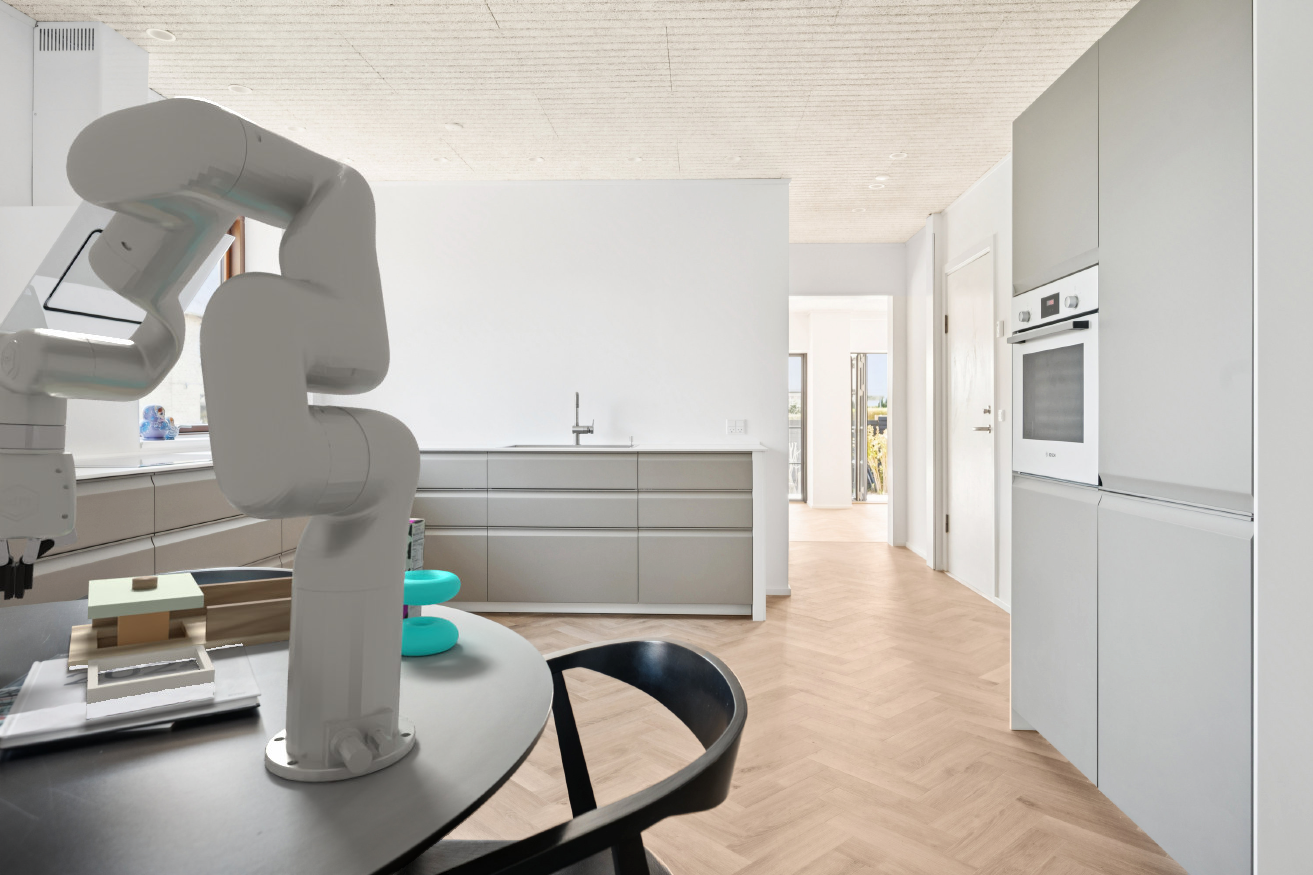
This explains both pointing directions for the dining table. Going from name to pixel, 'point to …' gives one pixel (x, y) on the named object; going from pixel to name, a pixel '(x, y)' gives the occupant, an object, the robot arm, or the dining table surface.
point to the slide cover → (143, 595)
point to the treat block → (142, 628)
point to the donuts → (426, 630)
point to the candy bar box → (414, 558)
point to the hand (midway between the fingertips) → (14, 596)
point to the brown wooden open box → (201, 622)
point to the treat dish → (152, 683)
